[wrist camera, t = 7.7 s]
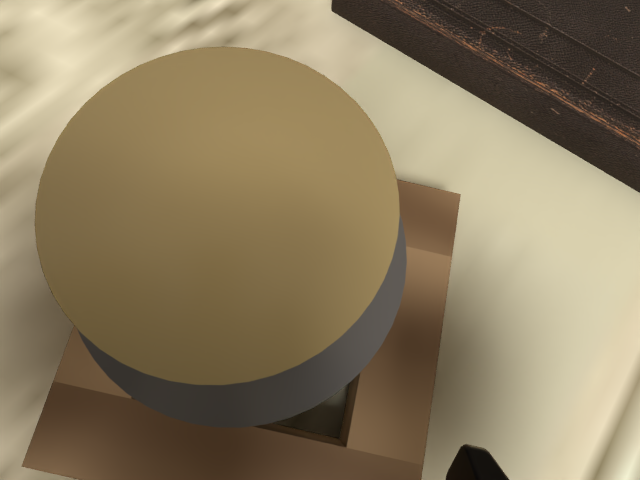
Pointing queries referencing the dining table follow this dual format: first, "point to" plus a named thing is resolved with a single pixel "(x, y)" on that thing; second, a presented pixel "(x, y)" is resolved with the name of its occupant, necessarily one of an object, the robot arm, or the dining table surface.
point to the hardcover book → (531, 64)
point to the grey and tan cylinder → (224, 235)
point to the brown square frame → (271, 439)
